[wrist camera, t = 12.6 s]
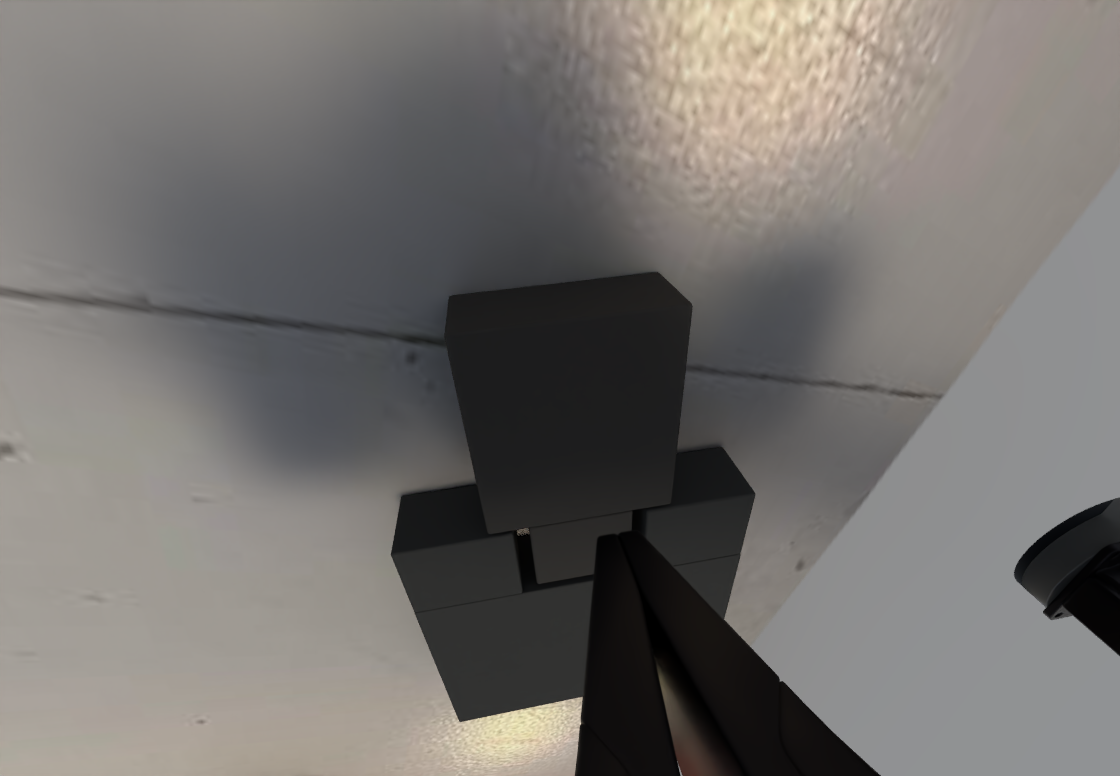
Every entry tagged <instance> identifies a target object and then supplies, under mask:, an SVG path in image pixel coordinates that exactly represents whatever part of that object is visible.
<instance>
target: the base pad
mask: <svg viewBox="0 0 1120 776" xmlns="http://www.w3.org/2000/svg"><path fill="white" fill-rule="evenodd" d="M754 498H755V492H754V491H753V489H752V488H751V487H750V485H749V484H748V482H747V481H746V480H745V478H744V477H743V475H742V474H741V473H740V471H739V470H738V468H737V467H736V465H735V464H734V463H733V461H732V460H731V458H730V457H729V456H728V454H727V453H726V451H725V450H724V449H723V448H722V447H720V448H713V449H707V450H700V451H694V452H687V453H681V454H676V462H675V471H674V480H673V489H672V498H671V503H670V504H666V505H660V506H654V507H648V508H642V509H636V510H632V530H638V531H639V532H641V533H642V534H643V535H644V536H645V537H646V538H647V540H648V541H649V542H650V543H651V544H652V545H653V546H654V547H655V548H656V549H657V550H658V551H659V552H660V553H661V554H662V555H663V556H664V557H665V558H666V559H667V560H668V561H669V563H670V564H671V565H672V566H673V567H674V568H675V569H676V570H677V571H678V572H679V573H680V574H681V575H682V576H683V577H684V578H685V579H686V580H687V581H688V582H689V583H690V585H691V586H692V587H693V588H694V589H695V590H696V591H697V592H698V593H699V594H700V595H701V596H702V597H703V598H704V599H705V600H706V601H707V602H708V603H709V604H710V605H711V606H712V608H713V609H714V610H715V611H716V612H717V613H718V614H719V615H720V616H721V617H722V618H723V619H724V617H725V614H726V610H727V606H728V602H729V598H730V594H731V590H732V586H733V582H734V578H735V575H736V571H737V567H738V563H739V559H740V552H741V549H742V545H743V541H744V538H745V534H746V530H747V526H748V522H749V518H750V514H751V510H752V506H753V502H754ZM391 556H392V558H393V561H394V563H395V566H396V568H397V571H398V573H399V575H400V578H401V580H402V583H403V585H404V588H405V590H406V593H407V595H408V597H409V600H410V602H411V605H412V607H413V610H414V612H415V615H416V617H417V620H418V622H419V625H420V627H421V630H422V632H423V634H424V637H425V639H426V642H427V644H428V647H429V649H430V651H431V654H432V656H433V659H434V661H435V664H436V666H437V668H438V671H439V673H440V676H441V678H442V681H443V683H444V685H445V688H446V690H447V693H448V695H449V698H450V700H451V702H452V705H453V707H454V710H455V712H456V715H457V717H458V719H459V722H462V721H467V720H472V719H477V718H482V717H486V716H491V715H496V714H501V713H506V712H511V711H515V710H520V709H525V708H530V707H535V706H540V705H544V704H549V703H554V702H559V701H564V700H568V699H573V698H578V697H583V689H584V678H585V667H586V656H587V645H588V634H589V622H590V611H591V600H592V589H593V578H594V574H591V575H586V576H580V577H575V578H569V579H564V580H558V581H553V582H547V583H542V584H538V583H537V581H536V574H535V567H534V560H533V553H532V546H531V539H530V536H524V537H518V538H517V532H516V530H511V531H506V532H500V533H494V534H489V533H488V532H487V528H486V524H485V519H484V515H483V510H482V505H481V501H480V496H479V492H478V487H477V485H473V486H466V487H460V488H453V489H447V490H441V491H434V492H428V493H421V494H415V495H408V496H403V497H401V501H400V507H399V513H398V518H397V524H396V529H395V535H394V541H393V546H392V552H391Z"/></svg>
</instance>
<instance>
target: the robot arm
mask: <svg viewBox="0 0 1120 776" xmlns="http://www.w3.org/2000/svg"><path fill="white" fill-rule="evenodd" d="M1043 613H1044V614H1045V615H1046V616H1047V617H1048V618H1049V619H1051V620H1054V619H1059V618H1064V617H1069V616H1074V617H1075V618H1076V619H1077V620H1079V621H1080V622H1081V623H1082V624H1083V625H1084V626H1086V627H1087V628H1088V629H1089V630H1090V631H1091V632H1093V633H1094V634H1095V635H1096V636H1097V637H1098V638H1099V639H1100V640H1102V641H1103V642H1104V643H1105V644H1106V645H1107V646H1109V647H1110V648H1111V649H1112V650H1113V651H1114V652H1116V653H1117V654H1118V655H1119V656H1120V542H1118V543H1113V544H1109V545H1107V546H1105V547H1104V548H1102V549H1101V550H1100V551H1099V552H1098V553H1097V554H1096V555H1095V556H1094V557H1093V558H1092V559H1091V560H1090V561H1089V563H1088V564H1087V565H1086V566H1085V567H1084V568H1083V569H1082V570H1081V571H1080V572H1079V573H1078V574H1077V575H1076V576H1075V578H1074V579H1073V580H1072V581H1071V582H1070V583H1069V584H1068V585H1067V586H1066V587H1065V588H1064V589H1063V590H1062V591H1061V593H1060V594H1059V595H1058V596H1057V597H1056V598H1055V599H1054V600H1053V601H1052V602H1051V603H1050V604H1049V605H1048V606H1047V608H1046V609H1045V610H1044V611H1043ZM677 761H678V763H677ZM678 764H679V767H680V770H681V772H682V775H683V776H881V775H879V774H878V773H877V772H876V771H875V770H874V769H873V768H871V767H870V766H869V765H868V764H867V763H866V762H865V761H864V760H863V759H862V758H861V757H859V756H858V755H857V754H856V753H855V752H854V751H853V750H852V749H851V748H850V747H849V746H847V745H846V744H845V743H844V742H843V741H842V740H841V739H840V738H839V737H838V736H836V734H834V733H833V732H832V731H831V730H830V729H829V728H828V727H827V726H826V725H825V724H824V723H823V722H822V721H821V720H820V719H819V718H818V717H817V716H816V715H815V714H814V713H813V712H812V711H811V710H810V709H809V708H808V707H807V706H806V705H805V704H804V703H803V702H802V700H801V699H800V698H799V697H798V696H797V695H796V694H795V693H794V692H793V691H792V690H791V689H790V688H789V687H788V686H787V685H786V684H785V683H784V682H783V681H781V682H780V679H779V677H778V676H777V674H775V672H774V671H773V670H772V669H771V668H770V667H769V666H768V665H767V664H766V663H765V662H764V661H763V660H762V659H761V658H760V657H759V656H758V655H757V654H756V653H755V652H754V650H753V649H752V648H751V647H750V646H749V645H748V644H747V643H746V642H745V641H744V640H743V639H742V638H741V637H740V636H739V635H738V634H737V633H736V632H735V631H734V629H733V628H732V627H731V626H730V625H729V624H728V623H727V622H726V621H725V620H724V619H723V618H722V617H721V616H720V615H719V614H718V613H717V612H716V611H715V610H714V609H713V608H712V606H711V605H710V604H709V603H708V602H707V601H706V600H705V599H704V598H703V597H702V596H701V595H700V594H699V593H698V592H697V591H696V590H695V589H694V588H693V587H692V586H691V585H690V583H689V582H688V581H687V580H686V579H685V578H684V577H683V576H682V575H681V574H680V573H679V572H678V571H677V570H676V569H675V568H674V567H673V566H672V565H671V564H670V563H669V561H668V560H667V559H666V558H665V557H664V556H663V555H662V554H661V553H660V552H659V551H658V550H657V549H656V548H655V547H654V546H653V545H652V544H651V543H650V542H649V541H648V540H647V538H646V537H645V536H644V535H643V534H642V533H641V532H639V531H638V530H630V531H625V532H620V533H619V534H618V535H617V534H614V533H613V534H607V535H601V536H599V537H598V538H597V544H596V555H595V567H594V578H593V589H592V600H591V611H590V622H589V634H588V645H587V656H586V667H585V678H584V689H583V700H582V712H581V725H580V731H579V742H578V753H577V762H576V770H575V776H680V772H679V768H678Z"/></svg>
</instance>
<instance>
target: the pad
mask: <svg viewBox="0 0 1120 776" xmlns="http://www.w3.org/2000/svg"><path fill="white" fill-rule="evenodd" d="M691 316H692V304H691V303H690V302H689V301H688V300H687V299H686V298H685V297H684V296H683V295H682V294H681V293H680V292H679V291H678V290H677V289H676V288H675V287H673V286H672V285H671V284H670V283H669V282H668V281H667V280H666V279H665V278H664V277H663V276H662V275H661V274H660V273H658V272H655V273H647V274H638V275H629V276H620V277H611V278H603V279H594V280H585V281H576V282H567V283H559V284H550V285H541V286H532V287H523V288H515V289H506V290H497V291H488V292H479V293H471V294H462V295H453V296H450V297H449V300H448V309H447V318H446V326H445V335H444V338H445V342H446V347H447V351H448V356H449V360H450V365H451V369H452V374H453V378H454V383H455V387H456V392H457V397H458V401H459V406H460V410H461V415H462V419H463V424H464V428H465V433H466V437H467V442H468V446H469V451H470V456H471V460H472V465H473V469H474V474H475V478H476V483H477V487H478V492H479V496H480V501H481V505H482V510H483V515H484V519H485V524H486V528H487V532H488V533H489V534H494V533H500V532H506V531H511V530H517V529H523V528H529V532H530V539H531V546H532V553H533V560H534V567H535V574H536V581H537V583H538V584H542V583H547V582H553V581H558V580H564V579H569V578H575V577H580V576H586V575H591V574H594V567H595V555H596V544H597V538H598V537H599V536H601V535H607V534H613V533H614V534H617V535H618V534H619V533H620V532H625V531H630V530H632V510H636V509H642V508H648V507H654V506H660V505H666V504H670V503H671V498H672V489H673V480H674V471H675V462H676V453H677V444H678V434H679V425H680V416H681V407H682V398H683V389H684V380H685V371H686V362H687V353H688V344H689V335H690V325H691Z"/></svg>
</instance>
